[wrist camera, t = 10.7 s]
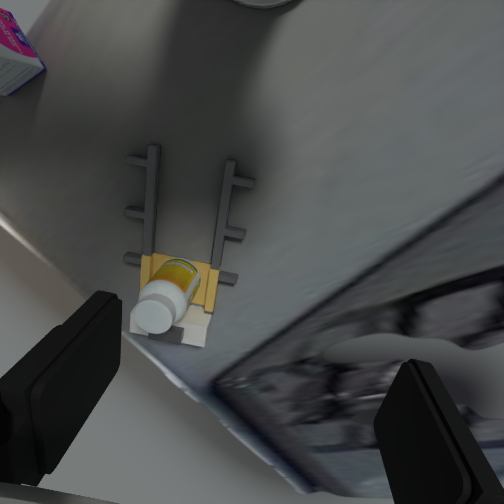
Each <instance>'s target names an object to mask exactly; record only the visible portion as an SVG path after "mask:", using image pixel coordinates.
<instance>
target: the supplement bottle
mask: <svg viewBox="0 0 504 504" xmlns="http://www.w3.org/2000/svg"><path fill="white" fill-rule="evenodd" d="M200 283H201V275H200V272H199V270H198V268H197V267H196V266H195V265H194V264H193V263H192V262H190V261H189V260H187V259H184V258H172V259H169V260H167V261H166V262H165V263H164V264H163V265H162V266H161V267H160V268H159V269H158V271H157V272H156V273H155V274H154V275H153V276H152V278H151V279H150V280H149V281H148V282H147V283H146V285H145V286H144V287H143V288H142V290H141V291H140V294H139V299H138V302H139V303H138V304H137V306H136V307H135V310H134V319H135V321H136V323H137V325H138V326H139V327H140V328H141V329H143V330H144V331H146V332H149V333H153V334H160V333H163V332H165V331H167V330H168V329H169V328H170V327H171V325H172V324H173V323H176V322H178V321H179V320H180V319H182V317H183V316H184V315H185V313H186V311H187V310H188V308H189V306H190V304H191V302H192V300H193V298H194V296H195V294H196V292H197V290H198V288H199V286H200Z"/></svg>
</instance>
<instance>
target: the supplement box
mask: <svg viewBox="0 0 504 504" xmlns="http://www.w3.org/2000/svg"><path fill="white" fill-rule="evenodd" d="M45 70H46V67H45V65H44V64H43V63H42V61H41V60H40V58H39V57H38V55H37V54H36V52H35V51H34V49H33V48H32V46H31V45H30V43H29V41H28V40H27V38H26V37H25V35H24V34H23V32H22V30H21V29H20V27H19V26H18V24H17V22H16V20H15V19H14V17H13V15H12V14H11V13H10V12H9V11H6V10H4V9H1V8H0V95H3V96H11V95H12V94H14V93H15V92H16V91H18V90H19V89H20V88H22V87H23V86H24V85H26V84H27V83H29V82H30V81H31V80H33V79H34V78H36V77H37V76H39V75H40V74H41V73H43V72H44V71H45Z"/></svg>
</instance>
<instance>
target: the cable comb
mask: <svg viewBox="0 0 504 504" xmlns="http://www.w3.org/2000/svg"><path fill="white" fill-rule="evenodd" d="M160 150H161V146H160V145H155V144H149V145H148V148H147V158H145V157H140V156H135V155H127V156H126V163H127V164H132V165H137V166H142V167H147V168H146V189H145V209H140V208H135V207H130V206H129V207H127V208H125V209H124V215H125V216H130V217H135V218H140V219H144V231H143V251H142V255H141V254H136V253H131V252H127V253H126V254H125V255H124V256H123V261H124V262H128V263H133V264H138V265H141V278H140V291H141V290H142V288H143V287H144V286H145V285H146V283H147V282H148V281H149V280H150V279H151V278H152V276H153V275H154V274H155V273H156V272H157V271H158V269H159V268H160V267H161V266H162V265H163V264H164V263H165V262H166V261H167V260H169V259H172V258H177V257H172V256H167V255H162V254H157V253H154V245H155V229H156V213H157V198H158V182H159V166H160ZM236 163H237V161H236V160H231V159H227V160H226V165H225V172H224V179H223V186H222V193H221V200H220V207H219V214H218V221H217V228H216V235H215V242H214V249H213V256H212V263H211V264H206V263H202V262H197V261H192V260H189V261H190V262H192V263H193V264H194V265H195V266H196V267H197V268H198V270H199V272H200V275H201V283H200V286H199V288H198V290H197V292H196V294H195V296H194V298H193V300H192V302H191V303H195V304H200V305H205V308H202V307H197V306H193V305H190V306H189V308H188V310H187V311H186V313H185V315H184V316H183V317H182V319H180V320H179V321H178V322H176V323H173V324H172V325H171V327H170V328H169V329H168V330H167V331H165V332H163V333H160V334H153V333H149V332H146V331H144V330H143V329H141V328H140V327H139V326H138V325H137V323H136V321H135V319H134V310H135V307H136V306H137V305H136V306H135V307H134V309H133V310H132V311H131V319H130V332H133V333H137V334H142V335H147V336H148V338H151V339H156V340H160V341H165V342H170V343H175V344H181V343H186V344H190V345H195V346H200V347H205V344H206V341H207V338H208V335H209V332H210V329H211V325H212V318H213V312H214V307H215V301H216V295H217V288H218V282H219V281H222V282H227V283H232V284H236V282H237V278H238V274H234V273H229V272H224V271H220V269H221V260H222V254H223V247H224V241H225V236H229V237H234V238H239V239H244V238H245V234H246V230H245V229H240V228H235V227H230V226H227V221H228V215H229V209H230V202H231V196H232V189H233V185H238V186H243V187H248V188H254V185H255V179H251V178H246V177H241V176H236V175H235V170H236ZM138 303H139V302H138Z"/></svg>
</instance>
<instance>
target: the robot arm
mask: <svg viewBox="0 0 504 504" xmlns="http://www.w3.org/2000/svg"><path fill="white" fill-rule="evenodd" d="M233 1H235V2H237V3H239V4H241V5H244V6H248V7H252V8H262V9H269V8H273V7H278V6H282V5H284V4H286V3H288V2H291V1H293V0H233ZM121 325H122V300H120V299H118V296H117V294H114V293H109V292H105V291H100V290H99V291H97V292H95V293H94V294H93V295H92V296H91V297H90V298H89V299H88V300H87V301H86V302H85V303H84V304H83V305H82V306H81V307H80V308H79V309H78V310H77V311H76V312H75V313H74V314H73V315H72V316H70V317H69V318H68V320H66V321H65V322H64V323H63V324H62V325H58V326H56V327H55V328H53V329H52V330H51V331H50V332H49V333H48V334H47V335H46V336H45V337H44V338H43V339H42V340H41V341H40V342H39V343H37V344H36V345H35V346H34V347H33V348H32V349H31V350H30V351H29V352H28V353H27V354H26V355H25V356H24V357H23V358H22V359H20V360H19V361H18V362H17V363H16V364H15V365H14V366H13V367H12V368H11V369H10V370H9V371H8V372H7V373H6V374H5V375H4V376H2V377H1V378H0V504H118V503H114V502H109V501H104V500H100V499H95V498H90V497H84V496H80V495H74V494H69V493H64V492H59V491H54V490H49V489H44V488H39V487H37V486H38V484H39V483H40V481H41V479H42V478H43V476H44V475H45V474H51V473H52V472H53V471H54V469H55V468H56V467H57V465H58V464H59V462H60V460H61V459H62V457H63V456H64V454H65V453H66V451H67V449H68V448H69V446H70V445H71V443H72V442H73V440H74V438H75V437H76V435H77V434H78V432H79V431H80V429H81V428H82V426H83V424H84V423H85V421H86V420H87V418H88V416H89V415H90V414H91V412H92V410H93V409H94V407H95V406H96V404H97V402H98V401H99V399H100V398H101V396H102V395H103V393H104V392H105V390H106V388H107V387H108V385H109V384H110V382H111V381H112V379H113V378H114V376H115V374H116V373H117V371H118V368H119V365H120V353H121V352H120V351H121ZM374 431H375V435H376V439H377V442H378V446H379V449H380V453H381V456H382V460H383V464H384V467H385V471H386V474H387V478H388V482H389V485H390V489H391V492H392V496H393V500H394V503H395V504H504V488H503V487H502V485H501V483H500V481H499V480H498V478H497V476H496V475H495V473H494V471H493V469H492V468H491V466H490V464H489V462H488V461H487V459H486V457H485V455H484V454H483V452H482V450H481V449H480V447H479V445H478V443H477V442H476V440H475V438H474V436H473V435H472V433H471V431H470V429H469V428H468V426H467V424H466V423H465V421H464V419H463V417H462V416H461V414H460V412H459V410H458V409H457V407H456V405H455V403H454V402H453V400H452V398H451V397H450V395H449V393H448V391H447V390H446V388H445V386H444V384H443V383H442V381H441V379H440V377H439V376H438V374H437V372H436V371H435V369H434V367H433V366H432V364H431V363H428V362H424V361H420V360H415V359H410V360H409V361H408V362H404V363H403V364H402V365H401V367H400V369H399V371H398V373H397V375H396V377H395V379H394V381H393V383H392V385H391V387H390V389H389V391H388V393H387V395H386V397H385V399H384V401H383V402H382V404H381V406H380V408H379V410H378V413H377V414H376V416H375V419H374ZM21 484H27V485H31V486H25V485H21ZM32 486H35V487H32Z"/></svg>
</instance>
